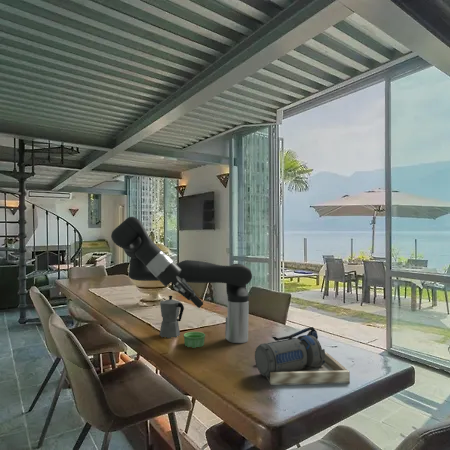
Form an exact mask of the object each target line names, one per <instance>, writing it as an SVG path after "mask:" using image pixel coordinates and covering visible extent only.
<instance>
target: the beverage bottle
mask: <svg viewBox="0 0 450 450" xmlns="http://www.w3.org/2000/svg"><path fill="white" fill-rule="evenodd" d="M306 332H308V333H307V334H304V333H306ZM303 334H304V335H303ZM271 338H272V339H273V340H274V341H271V342H267V343H261V344H259V345H258V346H257V347H256V349H255V351H254V360H255V361H254V362H255V366H256V368H257V370H258V371H259V373H260V375H262V376H263V377H265V378H267V377H270V372H290V371H295V370H300V369H303V368H304V367H306V368H307V367H313V368H317V367H321V366H322V365H323V364H324V363H325V360H324V359H325V352H326V351H325V349H324V348H322V345H321V343H320V341H319V339H318V338H319V337H318V332H317V330H316V329H315V328H314V326H312V327H311V326H310V327H305V328H303V329H301V330H299V331H296V332H294V333H292V334H290V335H287V336H282V337H277V336H271Z"/></svg>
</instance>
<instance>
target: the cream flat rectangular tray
mask: <svg viewBox="0 0 450 450" xmlns="http://www.w3.org/2000/svg"><path fill="white" fill-rule="evenodd" d="M324 360H325V363H324V364H323V365H322V366H321V367H317V368H313V367H307V368H306V367H304V368H303V369H300V370H295V371H290V372H270V377H266V380H267V381H268V382H269V384H270V386H289V385H291V386H294V385H295V386H296V385H298V386H299V385H326V384H329V385H330V384H351V375H350V373H351V372H350V371H349V370H348V369H347V367H345V366H344V365H342V364H341V363H340V362H339V361H337V359H336V358H334V357H333V356H332V355H330V354H329V353H328V352H326V351H325V359H324Z"/></svg>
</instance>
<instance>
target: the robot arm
mask: <svg viewBox="0 0 450 450" xmlns="http://www.w3.org/2000/svg"><path fill="white" fill-rule="evenodd" d="M110 238H111V240H112V242H113V244H115V245H116V246H118V247H119V248H121V249H123V251H124V253H125V255H127V256H128V257H129V258H130V259H129V268H128V277H129V279H131V280H132V281H133V280H134V281H141V282H152V281H153V282H156V281H157V282H160V283H161V284H162V285H163V287H167V286H168V285H170V284H172V285H173V289H174V290H175V291H176V292H178V293H179V294H181V296H182V297H184V298H185V299H187V301H190V302H192V304H193V305H194V306H196V307H197V308H198V309H199V308H202V306H203V305H204V302H203V301H202V299H201V298H199V297H198V296H197V295H196V292H195V290H194V289H192V286H190V285H189V284H188V283H192V284H214V283H216V284H218V283H220V284H226V296H227V316H226V317H225V338H224V339H225V340H227V342H229V343H233V344H244V343H247V342H249V310H250V309H249V305H250V301H249V300H250V299H249V293H248V291H247V285H248V284H249V283H250V282H251V280H252V278H253V273H252V271H251V269H250V268H249V266H247V265H245V264H241V263H232V264H231V265H220V264H216V263H211V262H207V261H200V260H191V259H190V260H188V259H187V260H186V259H185V260H182V261H180V262H178V263H176V262H175V261H174V260H173V259H172V258H171V257H170V256H169V255H167V254H166V253H165V252H164V251H163V250H161V248H159V246H157V244H155V242H154V241H153V240H152V238H151V237H150V235H149V234H148V233H147V230H146V228H145V227H144V225H143V223H142V222H141V221H140V219H139V218H137V217H134V216H128V217H127V218H126V219H125V220H123V222H121V223H120V224H119V225H118V226H117V227H115V228H114V229H113V230H112V231H111V236H110Z"/></svg>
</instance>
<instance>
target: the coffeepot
mask: <svg viewBox="0 0 450 450" xmlns="http://www.w3.org/2000/svg"><path fill="white" fill-rule="evenodd" d="M159 307H160V313H161V318H162V321H161V325H160V329H159V336H161V337H160V338H163V337H167V338H166V339H172V338H171V337H175V338H178V337H179V336H180V335H181V334H180V333H181V331H180V326H179V322H181V321H182V318H183V313H184V310H185V306H184V305H183V303H182V302H181V301H180V300H176V299H173V295H168V299H165V300H160V302H159ZM177 336H178V337H177Z"/></svg>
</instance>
